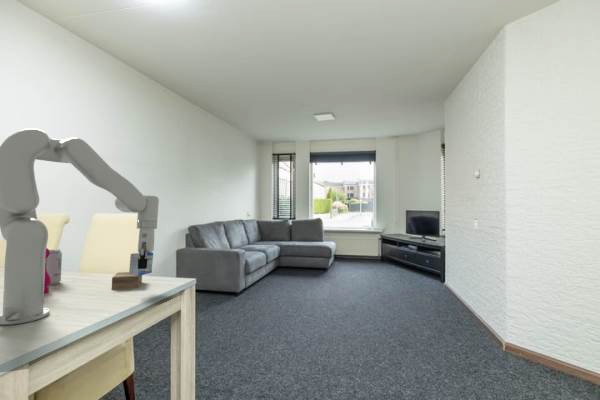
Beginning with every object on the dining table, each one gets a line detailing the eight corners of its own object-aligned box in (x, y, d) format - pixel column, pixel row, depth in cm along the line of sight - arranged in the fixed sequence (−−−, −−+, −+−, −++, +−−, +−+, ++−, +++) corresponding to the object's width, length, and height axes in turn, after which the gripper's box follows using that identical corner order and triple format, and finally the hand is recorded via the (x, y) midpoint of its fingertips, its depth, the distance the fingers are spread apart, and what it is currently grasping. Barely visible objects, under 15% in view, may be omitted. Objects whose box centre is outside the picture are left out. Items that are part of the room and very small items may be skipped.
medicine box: (137, 276, 119) (139, 254, 119) (128, 274, 120) (130, 253, 121) (151, 273, 127) (153, 252, 127) (143, 271, 128) (145, 251, 128)
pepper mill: (49, 289, 125) (51, 241, 126) (51, 293, 120) (53, 243, 121) (26, 292, 120) (28, 242, 121) (26, 296, 115) (29, 244, 116)
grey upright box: (57, 284, 132) (59, 250, 133) (40, 285, 130) (42, 251, 131) (62, 281, 138) (64, 249, 138) (46, 282, 136) (48, 249, 136)
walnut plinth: (138, 287, 131) (138, 276, 131) (111, 289, 127) (112, 277, 127) (141, 282, 140) (142, 271, 140) (117, 283, 137) (117, 272, 137)
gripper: (154, 226, 118) (151, 270, 117) (159, 224, 134) (156, 263, 133) (133, 225, 115) (129, 270, 114) (140, 223, 132) (137, 263, 131)
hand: (144, 266), depth 124 cm, fingers closed on medicine box, 9 cm apart
